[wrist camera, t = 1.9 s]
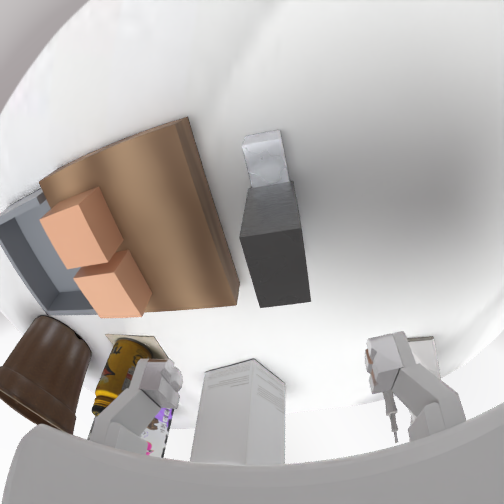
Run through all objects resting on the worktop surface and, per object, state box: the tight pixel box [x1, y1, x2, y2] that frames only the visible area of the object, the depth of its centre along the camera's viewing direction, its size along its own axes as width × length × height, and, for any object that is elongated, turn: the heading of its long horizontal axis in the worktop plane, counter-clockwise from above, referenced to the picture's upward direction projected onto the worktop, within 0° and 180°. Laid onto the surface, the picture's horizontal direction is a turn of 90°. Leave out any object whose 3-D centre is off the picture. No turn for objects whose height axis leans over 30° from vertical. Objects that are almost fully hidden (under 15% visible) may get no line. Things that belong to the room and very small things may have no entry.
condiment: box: [92, 334, 168, 417], centre depth 32 cm, size 7×8×12 cm
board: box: [39, 117, 240, 312], centre depth 23 cm, size 14×16×3 cm
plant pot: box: [0, 316, 91, 435], centre depth 32 cm, size 16×16×16 cm
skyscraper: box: [383, 336, 441, 443], centre depth 22 cm, size 8×8×28 cm
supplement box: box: [190, 359, 285, 465], centre depth 33 cm, size 9×9×15 cm
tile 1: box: [73, 250, 152, 318], centre depth 23 cm, size 5×5×3 cm
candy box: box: [87, 408, 174, 458], centre depth 40 cm, size 14×6×16 cm, turn 57°
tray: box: [0, 188, 98, 315], centre depth 25 cm, size 11×14×4 cm
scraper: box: [239, 130, 311, 308], centre depth 18 cm, size 3×11×9 cm, turn 13°
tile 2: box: [39, 187, 124, 269], centre depth 19 cm, size 5×5×3 cm
